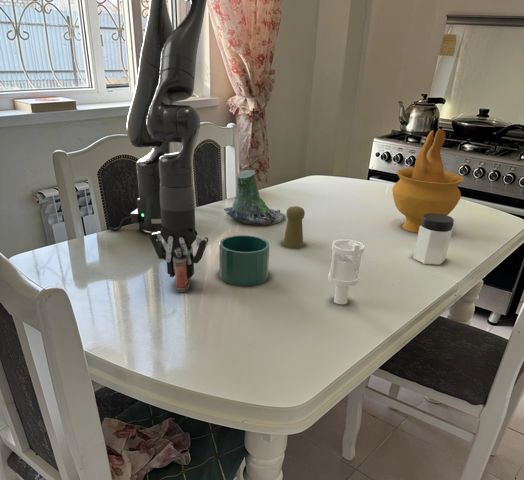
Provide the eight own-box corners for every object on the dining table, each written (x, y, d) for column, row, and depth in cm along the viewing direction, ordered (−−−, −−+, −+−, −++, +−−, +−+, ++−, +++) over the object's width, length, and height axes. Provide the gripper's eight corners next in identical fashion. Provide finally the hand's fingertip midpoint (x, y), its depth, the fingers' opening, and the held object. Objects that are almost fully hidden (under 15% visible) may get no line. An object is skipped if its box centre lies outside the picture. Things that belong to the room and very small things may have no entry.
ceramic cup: (219, 285, 122) (219, 252, 117) (219, 266, 132) (219, 234, 128) (269, 286, 123) (271, 253, 118) (265, 266, 133) (267, 235, 129)
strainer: (335, 310, 113) (343, 247, 105) (319, 297, 119) (326, 235, 111) (361, 305, 116) (371, 243, 108) (345, 293, 121) (354, 232, 113)
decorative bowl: (428, 243, 153) (452, 138, 137) (373, 225, 166) (389, 127, 151) (464, 231, 166) (489, 133, 150) (410, 214, 179) (428, 123, 163)
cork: (301, 249, 145) (305, 211, 139) (281, 247, 146) (283, 209, 140) (304, 242, 150) (307, 205, 144) (284, 240, 151) (287, 203, 145)
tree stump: (296, 222, 167) (291, 170, 155) (247, 245, 160) (238, 193, 148) (264, 205, 179) (258, 155, 167) (217, 226, 172) (207, 176, 160)
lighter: (177, 278, 124) (173, 239, 119) (190, 278, 124) (188, 239, 119) (173, 292, 117) (170, 251, 112) (188, 292, 117) (185, 251, 112)
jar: (451, 263, 141) (462, 221, 134) (428, 267, 138) (438, 224, 131) (429, 252, 147) (438, 211, 141) (407, 255, 144) (416, 214, 138)
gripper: (213, 203, 113) (213, 274, 122) (153, 197, 115) (158, 267, 124) (203, 213, 106) (204, 286, 116) (140, 206, 108) (146, 279, 118)
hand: (180, 276), depth 120 cm, fingers closed on lighter, 3 cm apart
